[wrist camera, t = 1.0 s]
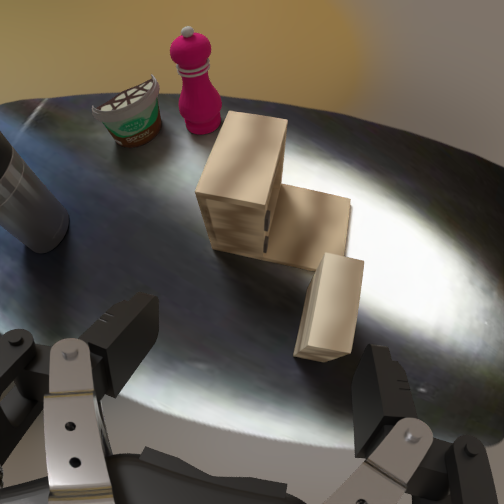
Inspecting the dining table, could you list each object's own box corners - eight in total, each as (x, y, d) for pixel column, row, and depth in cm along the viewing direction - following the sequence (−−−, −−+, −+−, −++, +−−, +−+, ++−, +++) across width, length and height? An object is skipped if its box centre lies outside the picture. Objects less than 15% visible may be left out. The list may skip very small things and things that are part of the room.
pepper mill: (232, 121, 53) (223, 23, 35) (200, 143, 51) (180, 43, 33) (206, 104, 55) (191, 13, 37) (175, 124, 53) (151, 31, 35)
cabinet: (212, 249, 44) (194, 191, 31) (235, 178, 48) (228, 111, 35) (339, 277, 42) (372, 229, 29) (349, 202, 46) (375, 139, 33)
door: (292, 356, 38) (307, 345, 27) (307, 288, 41) (325, 252, 30) (331, 363, 37) (361, 355, 26) (343, 296, 41) (373, 263, 30)
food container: (118, 164, 50) (97, 125, 41) (108, 145, 52) (88, 107, 43) (180, 130, 53) (168, 87, 44) (166, 113, 55) (154, 72, 46)
